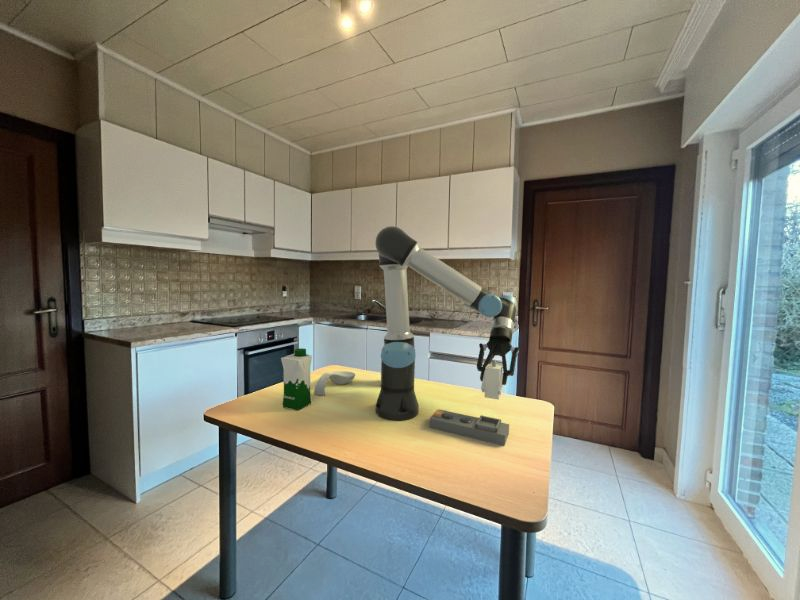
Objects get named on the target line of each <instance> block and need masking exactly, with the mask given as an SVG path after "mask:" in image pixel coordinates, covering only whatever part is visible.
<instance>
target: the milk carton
mask: <svg viewBox="0 0 800 600" xmlns="http://www.w3.org/2000/svg"><path fill="white" fill-rule="evenodd" d="M312 358H313V355H311V354H307V349H306V348H295V349H294V353H291V354H289V355H288V354H287V355H286V356H284V357H280V360H281V364H282V368H283V397H282V398H283V399H282V408H285V409H290V410H294V411H300V410H302V409H303V408H305V407H307V406H309V405H311V404H312V399H311V397H312V396H311V395H312V394H311V365H312Z"/></svg>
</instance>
